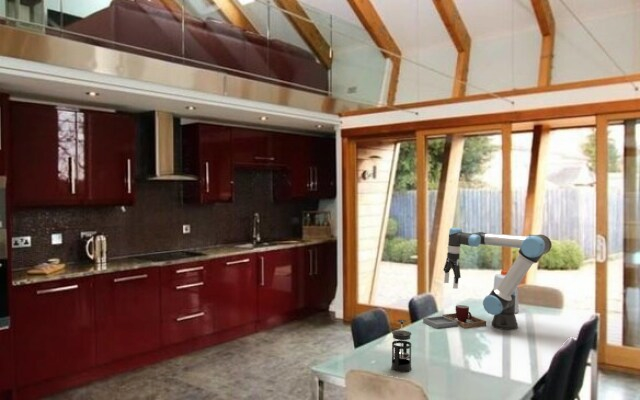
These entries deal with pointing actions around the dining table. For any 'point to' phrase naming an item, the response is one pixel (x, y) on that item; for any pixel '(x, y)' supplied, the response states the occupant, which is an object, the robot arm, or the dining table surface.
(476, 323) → the brown wooden tray
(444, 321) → the tray
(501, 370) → the dining table surface
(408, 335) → the french press
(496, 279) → the plastic bottle
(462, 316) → the mug
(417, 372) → the dining table surface
